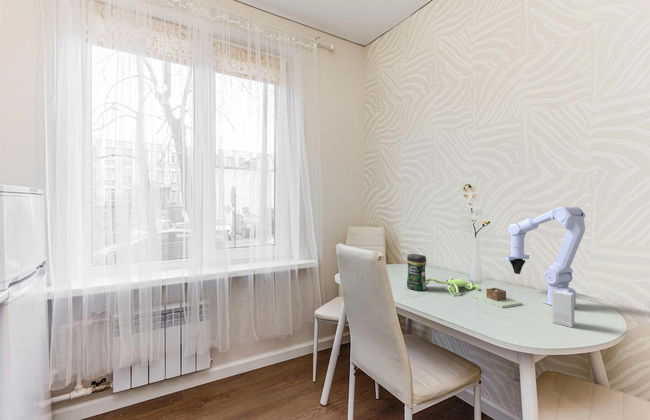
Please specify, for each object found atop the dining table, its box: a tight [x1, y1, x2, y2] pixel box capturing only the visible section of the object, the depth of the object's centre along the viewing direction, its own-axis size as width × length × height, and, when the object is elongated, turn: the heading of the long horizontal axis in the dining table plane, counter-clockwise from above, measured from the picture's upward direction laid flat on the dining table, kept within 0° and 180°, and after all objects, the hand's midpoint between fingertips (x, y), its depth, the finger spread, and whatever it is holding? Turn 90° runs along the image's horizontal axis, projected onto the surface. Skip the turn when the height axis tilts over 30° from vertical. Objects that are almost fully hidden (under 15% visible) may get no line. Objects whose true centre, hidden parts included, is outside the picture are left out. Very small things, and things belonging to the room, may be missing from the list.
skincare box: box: [551, 290, 576, 328], centre depth 110 cm, size 6×4×12 cm
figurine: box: [426, 278, 481, 297], centre depth 156 cm, size 18×27×6 cm
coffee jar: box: [406, 253, 427, 292], centre depth 156 cm, size 10×8×19 cm
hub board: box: [472, 290, 523, 309], centre depth 136 cm, size 16×12×5 cm
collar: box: [486, 287, 507, 301], centre depth 137 cm, size 6×6×4 cm
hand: (517, 273), depth 149 cm, fingers closed
